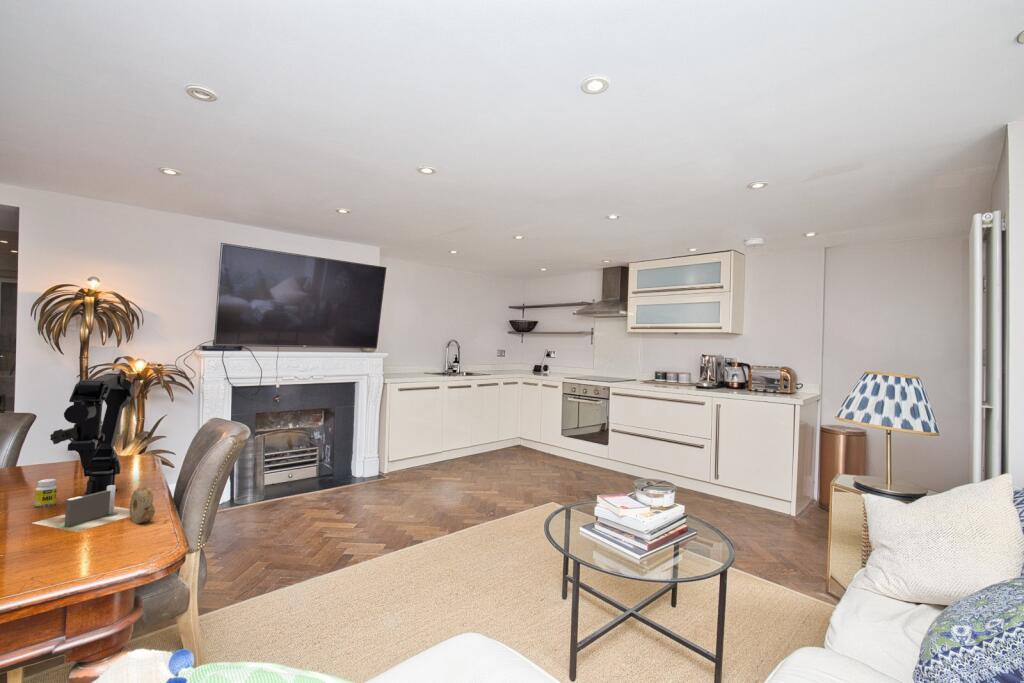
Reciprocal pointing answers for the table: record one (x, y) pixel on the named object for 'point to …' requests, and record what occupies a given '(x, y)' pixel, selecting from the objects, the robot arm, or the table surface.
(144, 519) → the stone disc
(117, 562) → the table surface
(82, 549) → the table surface
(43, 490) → the supplement bottle
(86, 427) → the robot arm
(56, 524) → the cream square board
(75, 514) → the grey upright slab
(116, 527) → the table surface
